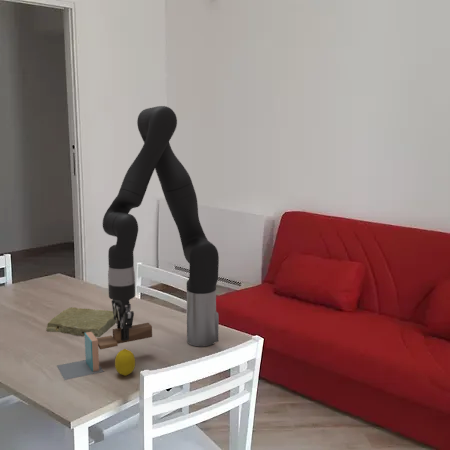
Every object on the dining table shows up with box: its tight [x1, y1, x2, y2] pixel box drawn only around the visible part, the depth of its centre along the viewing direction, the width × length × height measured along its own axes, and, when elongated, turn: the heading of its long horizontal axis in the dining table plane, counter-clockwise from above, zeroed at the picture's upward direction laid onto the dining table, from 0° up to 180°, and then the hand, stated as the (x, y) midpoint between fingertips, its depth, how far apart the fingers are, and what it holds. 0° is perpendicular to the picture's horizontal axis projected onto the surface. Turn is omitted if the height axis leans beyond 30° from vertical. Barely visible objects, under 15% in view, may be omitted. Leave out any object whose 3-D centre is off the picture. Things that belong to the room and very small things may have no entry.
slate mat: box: [56, 359, 105, 381], centre depth 164 cm, size 11×10×1 cm
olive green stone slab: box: [45, 306, 118, 338], centre depth 198 cm, size 19×20×4 cm
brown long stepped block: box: [96, 322, 153, 350], centre depth 169 cm, size 6×16×4 cm, turn 118°
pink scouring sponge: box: [84, 332, 100, 372], centre depth 165 cm, size 2×7×9 cm, turn 28°
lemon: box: [114, 348, 136, 377], centre depth 160 cm, size 6×6×8 cm
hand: (123, 337), depth 169 cm, fingers closed on brown long stepped block, 3 cm apart
